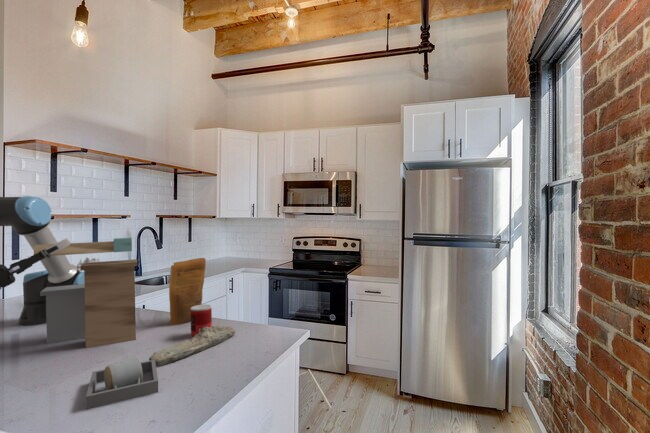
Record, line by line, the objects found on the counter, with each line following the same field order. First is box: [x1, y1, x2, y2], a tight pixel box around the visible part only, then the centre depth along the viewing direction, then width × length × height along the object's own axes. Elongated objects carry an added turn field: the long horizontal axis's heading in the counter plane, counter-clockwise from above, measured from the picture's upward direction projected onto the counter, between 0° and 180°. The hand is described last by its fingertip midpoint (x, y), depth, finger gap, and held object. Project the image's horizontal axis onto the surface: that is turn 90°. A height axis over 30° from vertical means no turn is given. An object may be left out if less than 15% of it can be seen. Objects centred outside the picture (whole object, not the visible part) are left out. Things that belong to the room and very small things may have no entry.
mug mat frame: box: [85, 360, 159, 410], centre depth 95 cm, size 16×16×3 cm
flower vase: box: [75, 257, 100, 272], centre depth 197 cm, size 13×18×25 cm
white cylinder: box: [103, 355, 144, 391], centre depth 94 cm, size 11×8×8 cm
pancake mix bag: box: [168, 257, 207, 326], centre depth 156 cm, size 7×19×28 cm, turn 144°
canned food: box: [190, 304, 213, 338], centre depth 138 cm, size 8×8×11 cm
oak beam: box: [33, 237, 133, 256], centre depth 129 cm, size 6×30×5 cm, turn 119°
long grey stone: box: [148, 325, 236, 368], centre depth 123 cm, size 35×5×10 cm
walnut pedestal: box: [79, 258, 138, 349], centre depth 133 cm, size 11×18×30 cm, turn 119°
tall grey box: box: [40, 284, 86, 345], centre depth 138 cm, size 10×20×20 cm, turn 119°
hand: (68, 241), depth 127 cm, fingers closed on oak beam, 3 cm apart
